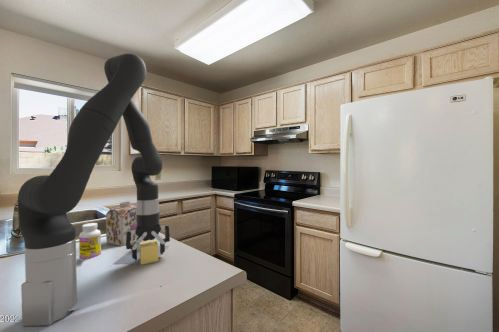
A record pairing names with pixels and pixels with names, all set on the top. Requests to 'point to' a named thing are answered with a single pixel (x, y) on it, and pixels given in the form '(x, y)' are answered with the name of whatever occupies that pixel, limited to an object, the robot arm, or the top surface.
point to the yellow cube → (148, 252)
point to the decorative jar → (120, 223)
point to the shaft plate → (129, 260)
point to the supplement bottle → (89, 241)
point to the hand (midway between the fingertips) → (148, 256)
